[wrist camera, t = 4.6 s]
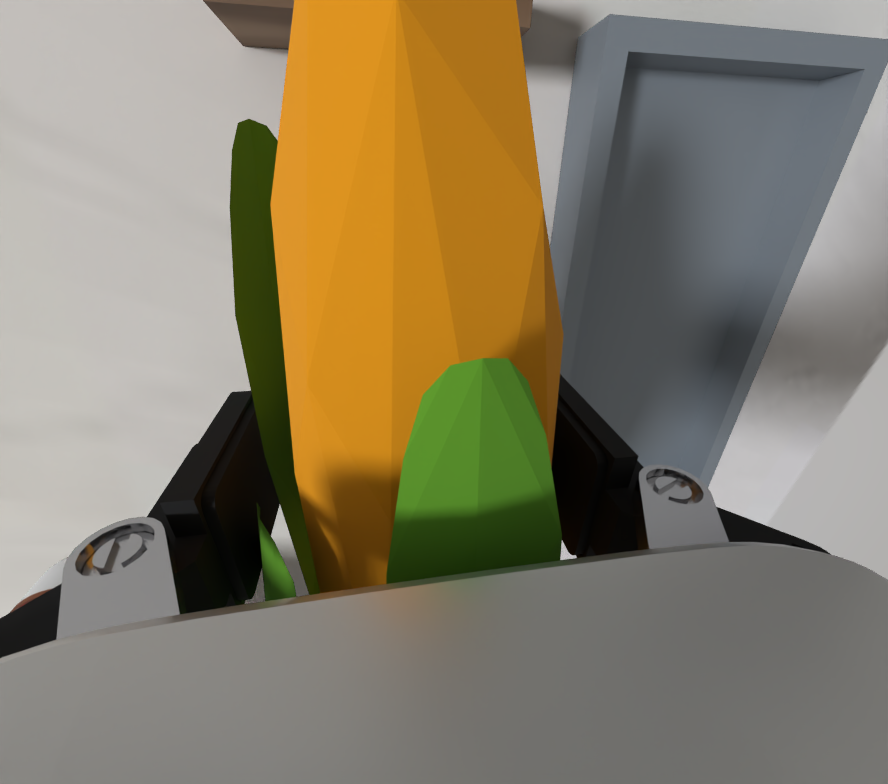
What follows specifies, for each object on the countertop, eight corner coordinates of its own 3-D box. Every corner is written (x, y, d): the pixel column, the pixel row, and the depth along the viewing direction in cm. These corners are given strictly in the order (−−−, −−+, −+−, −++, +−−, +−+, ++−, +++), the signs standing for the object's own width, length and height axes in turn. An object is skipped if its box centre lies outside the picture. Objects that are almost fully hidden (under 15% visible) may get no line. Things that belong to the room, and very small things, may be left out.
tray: (577, 37, 16) (609, 14, 14) (834, 58, 18) (897, 39, 16) (518, 492, 28) (530, 517, 26) (679, 474, 30) (703, 497, 28)
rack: (230, -27, 14) (182, -101, 10) (499, -2, 15) (537, -59, 12) (326, 523, 26) (319, 575, 23) (470, 507, 28) (484, 553, 24)
